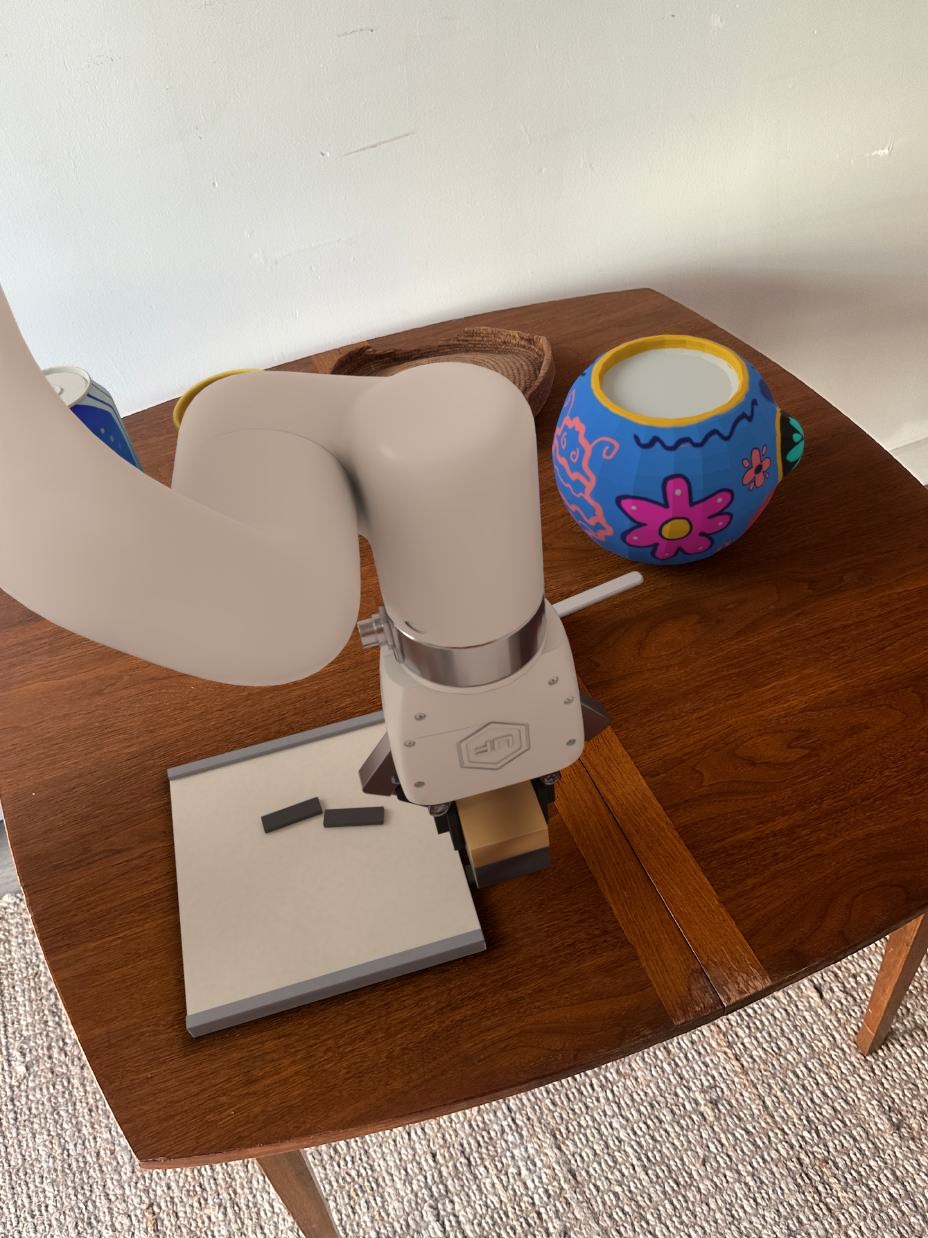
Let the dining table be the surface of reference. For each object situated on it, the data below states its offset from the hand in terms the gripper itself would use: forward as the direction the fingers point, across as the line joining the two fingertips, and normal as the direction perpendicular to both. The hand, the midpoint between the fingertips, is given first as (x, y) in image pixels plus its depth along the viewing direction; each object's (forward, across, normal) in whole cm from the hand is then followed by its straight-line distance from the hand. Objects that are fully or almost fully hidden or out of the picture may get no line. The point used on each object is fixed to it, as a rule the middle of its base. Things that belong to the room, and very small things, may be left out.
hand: (494, 816), depth 62 cm
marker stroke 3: (+5, 0, 0) cm, 5 cm away
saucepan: (+5, +8, +16) cm, 19 cm away
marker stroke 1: (+4, -12, +7) cm, 15 cm away
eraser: (+1, 0, 0) cm, 1 cm away
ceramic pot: (+5, +22, +26) cm, 34 cm away
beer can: (+6, -24, +42) cm, 48 cm away
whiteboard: (+5, -12, +4) cm, 13 cm away
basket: (+6, +8, +48) cm, 50 cm away
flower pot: (+6, -10, +44) cm, 45 cm away
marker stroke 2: (+4, -8, +6) cm, 11 cm away
